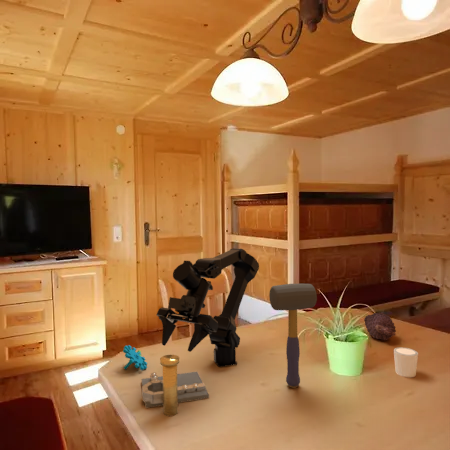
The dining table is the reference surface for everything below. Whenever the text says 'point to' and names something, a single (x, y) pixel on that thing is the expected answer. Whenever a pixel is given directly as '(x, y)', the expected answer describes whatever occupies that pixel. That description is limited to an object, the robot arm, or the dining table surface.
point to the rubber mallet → (292, 320)
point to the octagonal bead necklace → (157, 385)
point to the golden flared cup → (170, 384)
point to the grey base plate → (181, 380)
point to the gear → (134, 358)
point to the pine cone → (380, 326)
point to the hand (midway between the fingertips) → (175, 348)
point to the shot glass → (405, 361)
